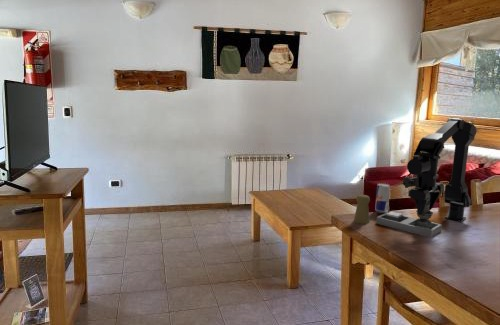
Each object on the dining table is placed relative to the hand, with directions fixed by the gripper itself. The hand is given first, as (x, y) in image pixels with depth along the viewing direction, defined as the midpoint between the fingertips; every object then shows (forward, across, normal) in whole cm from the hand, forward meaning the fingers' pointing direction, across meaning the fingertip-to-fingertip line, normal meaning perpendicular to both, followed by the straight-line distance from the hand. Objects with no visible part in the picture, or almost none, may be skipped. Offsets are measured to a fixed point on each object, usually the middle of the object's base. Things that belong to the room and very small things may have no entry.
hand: (424, 212), depth 155 cm
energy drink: (+8, -12, -23) cm, 27 cm away
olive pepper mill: (+8, +7, -22) cm, 24 cm away
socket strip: (+7, 0, -6) cm, 9 cm away
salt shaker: (+4, 0, 0) cm, 4 cm away
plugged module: (+7, 0, -11) cm, 13 cm away
